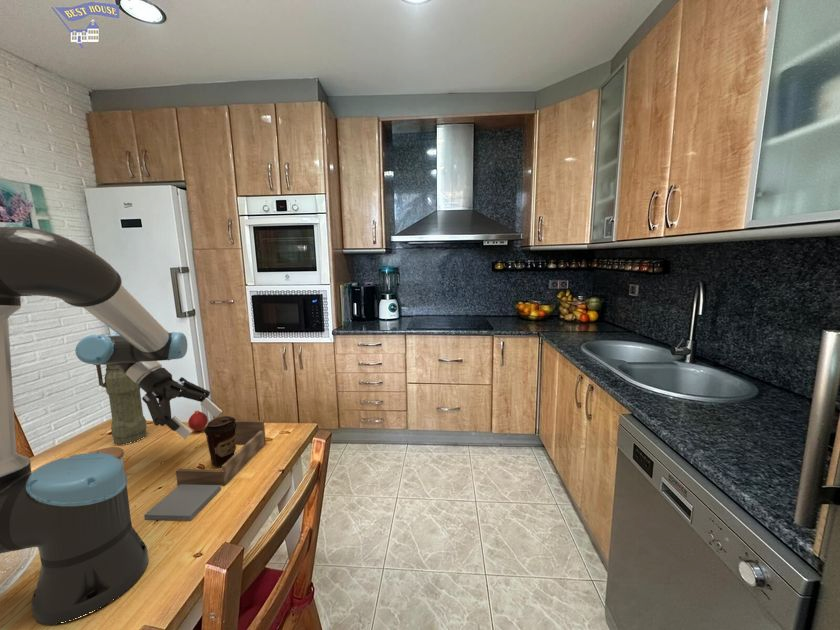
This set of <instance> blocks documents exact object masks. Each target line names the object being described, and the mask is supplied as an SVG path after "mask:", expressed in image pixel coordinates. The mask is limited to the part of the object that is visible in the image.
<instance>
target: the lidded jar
mask: <svg viewBox="0 0 840 630" xmlns="http://www.w3.org/2000/svg"><path fill="white" fill-rule="evenodd" d="M88 453H106V454H110V455H113V456H115V457H117V458H118V459H119V460H120V461H121V462H122V464H123V466H124V464H125V457H124V453H125V452H124V449H123V447H118V446H112V447H103V448H99V449H94V450H93V451H89V452H88Z"/></svg>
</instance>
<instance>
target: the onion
mask: <svg viewBox="0 0 840 630" xmlns="http://www.w3.org/2000/svg"><path fill="white" fill-rule="evenodd" d="M208 423H209V421H208V416H207V415H206V414H205V413H203V412H202V411H199V410H198V409H197V410H195V411H194V413H192V414H191V415H190V417H189V419H188V423H187V424H188V428H189V429H190V430H193V431H195V432H198V431H199V432H201V431H202V430H203V429H205V428H206V427H207V424H208Z"/></svg>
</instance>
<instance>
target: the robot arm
mask: <svg viewBox="0 0 840 630" xmlns="http://www.w3.org/2000/svg"><path fill="white" fill-rule="evenodd" d="M122 280H123V279H122V276H121V275H120V274H119V272H118V271H117V270H116V269H115V268H114V267H113V266H112V265H111V264H110V263H109V262H108V261H106V260H105V259H104V258H103V257H101V256H100V255H99V254H98V253H95V252H94V251H93V250H91V249H88V248H87V247H85V246H83V245H82V244H80V243H77V242H75V241H74V240H72V239H69V238H66V237H65V236H62V235H60V234H57V233H54V232H52V231H48V230H45V229H40V228H35V227H29V226H28V227H26V226H0V554H5V553H10V552H11V553H12V552H16V551H19V550H26V549H30V548H37V549H38V552H39V558H40V565H41V567H40V572H39V575H38V579H37V584H36V588H35V590H34V592H33V596H32V598H31V611H32V615H33V618H34V620H35V621H36V622H37V623H38V624H42V625H45V624H55V625H57V624H56V623H61V622H65V621H69V620H73V619H75V618H78V617H80V616H83V615H85V614H88V613H89V612H92V611H94V610H97V609H99V608H100V607H102V606H104V605H106V604H107V603H109V602H111V601H112V600H113V599H115V598H117V597H118V596H119V597H120V595H121V594H122V595H123V594H124V593H126V592H127V591H128V590H129V589H130V588H132V587H133V586H134V585H135V583H137V581H138V580H139V579H140V578H141V577H142V575H143V573H144V572H145V571H146V568H147V566H148V564H149V553H148V547H147V545H146V543H145V542H144V540H143V539H142V537H141V536H140V535H139V533H138V532H137V531H136V530H135V528H134V527H133V525H132V519H131V509H130V501H129V500H130V499H129V493H128V486H127V483H128V477H127V475H126V472H125V469H124V465H123V464H122V462H121V461H120V460H119V459H118V458H117V457H115V456H113V455H110V454H106V453H89V452H87V453H86V452H85V453H79V454H74V455H70V456H69V457H67V458H63V457H61V458H59V459H56V460H53V461H50V462H48V463H45V464H43V465H41V466H40V467H38V468H36V469H35V470H34V471H33V472H32V467H31V466H32V465H31V463H32V462H31V459H30V458H29V457H27V456H25V455H22V454H19V453H18V452H17V440H16V427H15V426H16V425H15V413H14V412H15V407H14V393H13V378H12V374H13V373H12V362H11V361H12V359H11V358H12V356H11V344H10V326H9V318H10V317H11V315H13V314H14V313H16V312H17V311H19V310H20V309H22V303H21V302H22V301H21V299H22V298H21V297H32V296H34V297H35V296H36V297H37V296H41V297H50V298H57V299H59V300H62V301H63V302H64V303H66V304H67V305H70V306H73V307H77V308H83V309H84V310H86V311H87V312H88V313H90V314H91V315H92V316H94V317H95V318H96V319H97V320H99V321H100V322H102V323H103V324H104V325H105V326H106V327H108V328H109V329H110V330H112V331H113V332H114V333H110V334H109V335H105V334H90V335H87V336H85V337H83V338H82V339H80V340H79V341H78V343H77V344H76V346H75V350H74V351H75V355H76V357H77V358H78V360H79V361H80V362H82V363H85V364H88V365H89V364H90V365H93V366H96V365H101V366H102V365H103V366H104V365H105V366H106V365H115V366H117V367H118V368H119V369H120V370H121V371H123V372H124V373H125V374H126V375H127V376H128V377H130V378H131V379H132V380H133V381H134V382H135V383H136V384H139V387H140V389H141V390H142V391H144V392H145V394H144V395H143V396H142V397H141V401H143V402H144V403H145V404H146V407H147V409H148V412H149V414H150V416H151V417H150V418H151V419H152V422H153V424H154V426H161V427H163V426H167V427H168V428H169V429H170V430H171V431H173V432H176V433H177V434H178V435H179V436H180V437H181V438H182V439H183V440H186V439H187V438H188V437H189V436H190V435H191V434H192V433H193V431H192V429H191V428H190V427H189V426H187V425H185V423H183V422H182V421H181V420H180V418H178V417H176V415H174V416H172V409H171V400H173V399H177V398H184V399H189V400H192V401H196V402H200V406H201V407H203V408H204V409H205V410H206V411H207V412H208V413H210V414H211V415H212V416H213V418H214V419H216V418H218V416H219V415H220V414H221V413H222V412H223V411H222V409H221V408H219V407H218V406H217V405H216V403H215V402H214V401H213V400H211V399H210V394H211V391H209V390H207V389H205V388H203V387H201V386H199V385H196V384H195V383H193V382H190V381H188V380H187V379H186V378H184V377H183V376H181V377H180V378H179V379H177V381H176V380H174V379H173V374H172V373H171V372H169V371H168V369H166V368H165V367H163V366H162V363H160V362H159V361H161V362H162V361H170V360H179V359H183V358H184V357H185V356H186V354H187V351H188V339H187V336H186V334H184V333H183V332H176V331H172V332H168V330H166V329H165V328H164V327H163V326H162V325H161V323H159V321H158V320H157V319H155V318H154V316H152V315H151V313H150V312H149V311H148V310H147V309H146V308H145V307H144V306H143V305H142V304H141V303H140V302H139V301H138V300H137V299H136V298H135V297H134V296H133V295H132V294H131V293H130V292H129V291H128V290H127V289H126V288H125V287H124V286H123V284H122V283H123V281H122ZM127 589H128V590H127ZM126 590H127V591H126ZM125 591H126V592H125ZM122 595H121V596H122ZM119 597H118V598H119ZM118 598H117V599H118ZM115 600H116V599H115ZM112 602H113V601H112ZM112 602H111V603H112ZM109 604H110V603H109ZM107 605H108V604H107ZM107 605H106V606H107ZM104 607H105V606H104ZM102 608H103V607H102ZM99 610H100V609H99ZM97 611H98V610H97ZM73 621H74V620H73Z"/></svg>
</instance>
